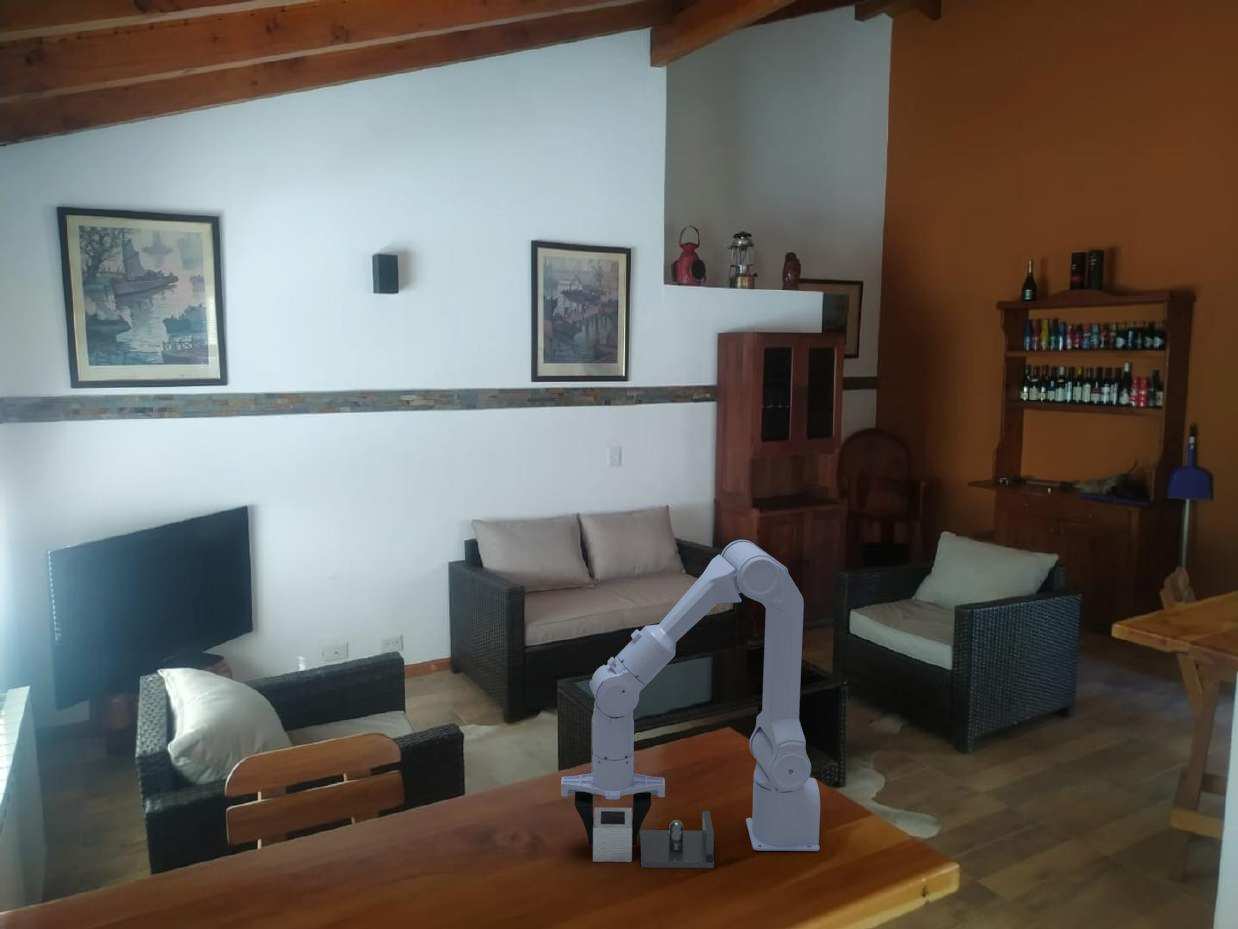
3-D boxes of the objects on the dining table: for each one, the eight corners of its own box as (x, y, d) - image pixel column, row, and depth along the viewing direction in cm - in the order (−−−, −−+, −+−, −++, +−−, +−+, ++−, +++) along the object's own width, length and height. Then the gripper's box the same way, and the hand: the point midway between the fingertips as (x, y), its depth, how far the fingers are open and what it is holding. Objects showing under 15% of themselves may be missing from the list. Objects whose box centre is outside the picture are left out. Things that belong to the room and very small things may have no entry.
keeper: (708, 836, 130) (709, 806, 129) (713, 868, 122) (714, 837, 121) (640, 835, 130) (640, 805, 129) (641, 867, 122) (641, 836, 121)
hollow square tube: (631, 840, 129) (631, 808, 128) (631, 862, 123) (632, 828, 123) (594, 839, 129) (594, 807, 128) (592, 861, 123) (593, 828, 123)
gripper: (559, 764, 120) (559, 857, 122) (666, 765, 120) (665, 858, 122) (562, 740, 127) (563, 829, 129) (664, 741, 127) (662, 830, 129)
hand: (612, 841), depth 126 cm, fingers closed on hollow square tube, 5 cm apart
